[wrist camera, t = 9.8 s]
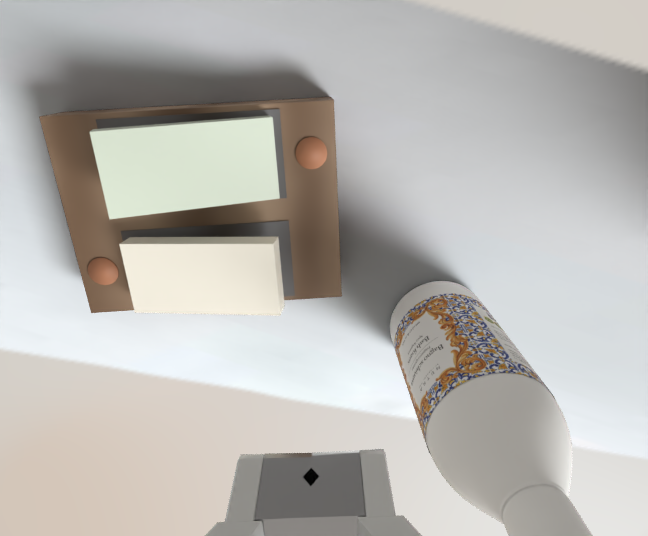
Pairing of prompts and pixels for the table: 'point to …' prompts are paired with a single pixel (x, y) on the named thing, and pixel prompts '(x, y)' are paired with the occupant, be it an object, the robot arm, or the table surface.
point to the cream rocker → (204, 275)
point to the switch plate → (220, 221)
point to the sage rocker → (186, 165)
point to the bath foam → (485, 412)
